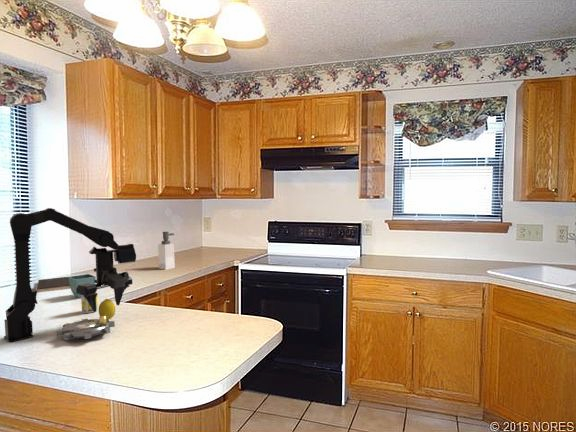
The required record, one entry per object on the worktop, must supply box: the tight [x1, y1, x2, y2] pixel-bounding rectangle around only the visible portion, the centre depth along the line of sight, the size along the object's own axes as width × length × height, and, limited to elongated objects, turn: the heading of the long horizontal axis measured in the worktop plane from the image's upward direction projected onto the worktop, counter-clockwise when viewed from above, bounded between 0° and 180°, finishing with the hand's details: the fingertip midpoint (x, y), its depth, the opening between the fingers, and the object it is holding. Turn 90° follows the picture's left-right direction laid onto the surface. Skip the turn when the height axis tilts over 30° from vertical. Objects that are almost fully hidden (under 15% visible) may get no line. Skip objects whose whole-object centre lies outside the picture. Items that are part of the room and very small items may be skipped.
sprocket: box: [55, 315, 116, 341], centre depth 131 cm, size 17×17×4 cm
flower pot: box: [67, 273, 97, 299], centre depth 181 cm, size 9×9×9 cm
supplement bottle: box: [80, 290, 99, 314], centre depth 157 cm, size 6×6×10 cm
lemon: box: [98, 298, 116, 321], centre depth 146 cm, size 6×6×8 cm
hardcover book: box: [36, 275, 72, 293], centre depth 203 cm, size 16×23×2 cm
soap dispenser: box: [157, 231, 176, 270], centre depth 244 cm, size 6×9×22 cm
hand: (106, 308), depth 145 cm, fingers open, 9 cm apart
